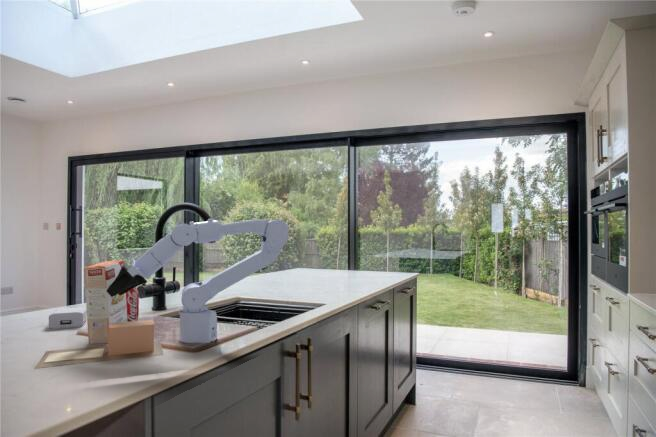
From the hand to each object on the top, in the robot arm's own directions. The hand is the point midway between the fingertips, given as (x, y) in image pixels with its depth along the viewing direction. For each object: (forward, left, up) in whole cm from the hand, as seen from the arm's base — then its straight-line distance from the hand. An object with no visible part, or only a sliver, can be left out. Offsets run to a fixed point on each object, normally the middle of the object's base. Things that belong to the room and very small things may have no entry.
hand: (113, 293), depth 113 cm
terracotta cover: (-7, +4, -13) cm, 16 cm away
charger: (+32, -27, -15) cm, 44 cm away
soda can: (+12, -26, -14) cm, 32 cm away
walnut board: (-2, +7, -14) cm, 16 cm away
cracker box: (+6, -8, -14) cm, 17 cm away
